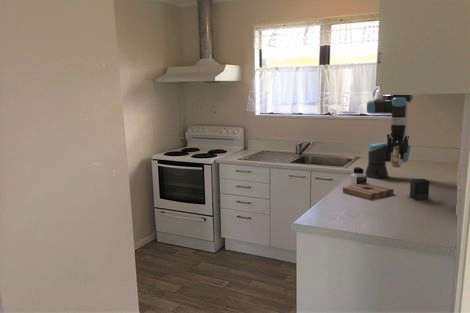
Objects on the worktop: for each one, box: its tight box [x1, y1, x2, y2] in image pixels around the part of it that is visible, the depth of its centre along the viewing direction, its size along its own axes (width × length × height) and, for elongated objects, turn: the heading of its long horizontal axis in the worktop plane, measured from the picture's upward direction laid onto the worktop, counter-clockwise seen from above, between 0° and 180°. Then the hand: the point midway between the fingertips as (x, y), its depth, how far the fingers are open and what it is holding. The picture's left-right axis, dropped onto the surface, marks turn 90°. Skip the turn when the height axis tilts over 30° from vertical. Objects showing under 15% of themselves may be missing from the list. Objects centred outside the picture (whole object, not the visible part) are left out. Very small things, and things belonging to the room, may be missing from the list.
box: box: [409, 178, 430, 201], centre depth 213 cm, size 8×6×11 cm
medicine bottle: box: [350, 166, 368, 186], centre depth 244 cm, size 7×7×12 cm
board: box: [342, 182, 395, 200], centre depth 227 cm, size 20×20×3 cm
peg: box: [391, 146, 401, 169], centre depth 228 cm, size 4×4×12 cm
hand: (396, 163), depth 229 cm, fingers closed on peg, 4 cm apart
